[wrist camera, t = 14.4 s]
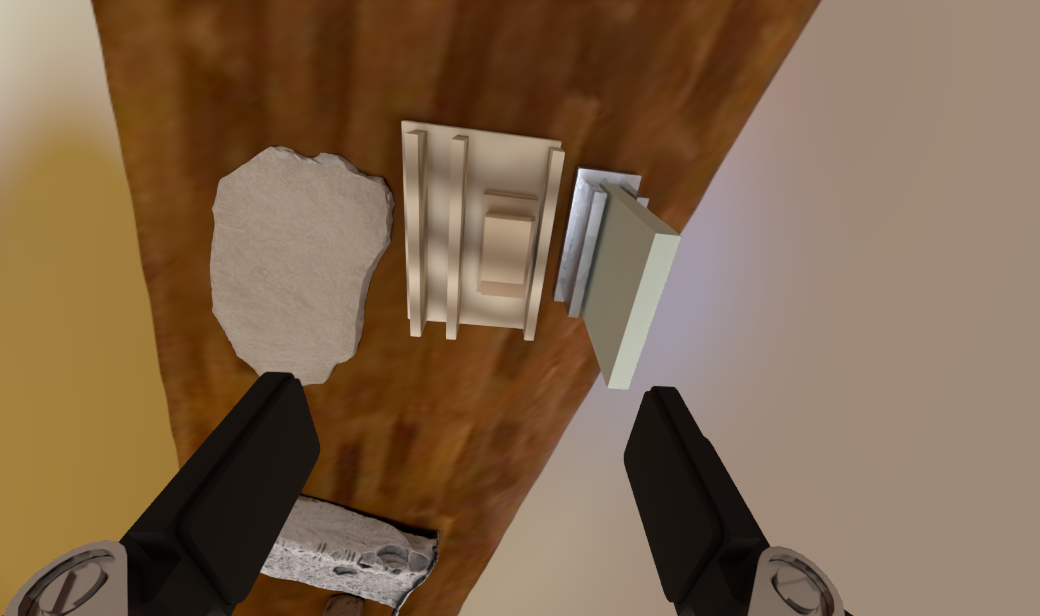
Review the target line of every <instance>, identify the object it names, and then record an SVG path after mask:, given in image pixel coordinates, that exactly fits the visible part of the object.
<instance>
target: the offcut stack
mask: <svg viewBox="0 0 1040 616" xmlns="http://www.w3.org/2000/svg"><path fill="white" fill-rule="evenodd" d="M537 204H538V199H537V197H534V196H526V195H517V194H509V193H500V192H492V191H484V196H483V210H482V224H481V238H480V252H479V266H478V280H477V292H481V295H490V296H501V297H511V298H522V299H525V292H526V285H527V278H528V271H529V264H530V257H531V250H532V243H533V237H534V230H535V223H536V220H535V218H536V211H537Z"/></svg>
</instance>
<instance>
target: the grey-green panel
mask: <svg viewBox="0 0 1040 616" xmlns="http://www.w3.org/2000/svg"><path fill="white" fill-rule="evenodd" d="M599 186H600V187H601V188H602V189H603V190H604V191H605V192H606V193H607V196H606V200H605V205H604V209H603V213H602V218H601V222H600V226H599V231H598V235H597V239H596V243H595V248H594V252H593V256H592V261H591V265H590V269H589V273H588V278H587V282H586V286H585V291H584V295H583V299H582V304H581V308H580V310H581V313H582V316H583V319H584V322H585V325H586V328H587V331H588V334H589V336H590V339H591V342H592V345H593V348H594V351H595V354H596V357H597V360H598V363H599V365H600V368H601V371H602V374H603V377H604V380H605V383H606V385H607V388H613V389H627V390H628V388H629V385H630V382H631V380H632V376H633V374H634V371H635V368H636V365H637V362H638V359H639V357H640V354H641V351H642V348H643V345H644V342H645V340H646V337H647V334H648V331H649V328H650V325H651V323H652V320H653V317H654V314H655V311H656V308H657V305H658V303H659V300H660V297H661V294H662V291H663V288H664V285H665V283H666V280H667V277H668V274H669V271H670V268H671V266H672V263H673V260H674V257H675V254H676V251H677V248H678V246H679V242H680V240H681V237H682V236H681V235H679V234H678V233H677V232H676V231H674V230H673V229H672V228H671V227H669V226H668V225H667V224H665V223H664V222H663V221H662V220H660V219H659V218H658V217H657V216H655V215H654V214H653V213H652V212H650V211H649V210H648V209H647V208H645V207H644V206H643V205H641V204H640V203H639V202H638V201H636V200H635V199H634V198H633V197H631V196H630V195H629V194H628V193H626V192H625V191H624V190H622V189H621V188H620V187H619V186H617V185H615V184H607V183H600V184H599Z"/></svg>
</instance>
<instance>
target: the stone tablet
mask: <svg viewBox="0 0 1040 616" xmlns="http://www.w3.org/2000/svg"><path fill="white" fill-rule="evenodd" d="M394 205H395V204H394V200H393V196H392V192H390V191H389V188H388V187H387V185H386V184H385V182H384V179H383V178H382V177H377V176H366V175H365V174H362V173H359V172H358V170H357V169H356V168H355V167H354V166H353V165H352V164H351V163H350V162H348V161H347V160H346V159H345V158H343V157H341V156H339V155H335V154H327V153H320V155H319V156H317V157H315V158H307V157H304V156H302V155H300V154H298V153H295V151H294V150H292V149H289V148H287V147H281V146H279V147H269V148H267V149H266V150H264V151H263V152H261V153H260V154H258V155H257V156H255V157H254V158H253V159H252V160H250V161H249V162H247V163H246V164H244V165H242V166H241V167H240V168H238V169H237V170H235V171H234V172H232V173H231V174H229V175H228V176H226V177H224V178H222V179H221V180H220V181H219V184H218V188H217V196H216V199H215V203H214V206H213V207H212V210H213V213H214V220H215V229H214V233H213V241H212V251H211V261H210V274H211V285H212V299H213V308H212V312H213V313H214V315H215V316H216V318H217V319H218V321H219V323H220V324H221V326H222V327H223V329H224V330H225V333H226V335H227V336H228V339H229V340H230V341H231V343H232V346H233V348H234V349H235V351H236V355H237V356H238V357H239V358H241V359H243V360H244V361H245V362H247V363H248V364H249V365H250V366H251V367H252V368H254V369H255V371H256V372H257V373H258V375H259V376H261V375H262V374H263V373H265V372H267V371H269V372H291V373H292V374H293V375H294V377H295V378H298V379H300V381H301V384H302V386H304V385H308V384H314V383H316V384H319V383H322V384H323V383H324V382H325V381H326V380H327V379H328V378H329V376H330V375H331V373H332V371H333V368H334V367H335V365H336V364H337V363H341V362H345V361H347V360H348V359H349V358H351V357H353V356H354V354H355V353H356V351H357V348H358V343H359V341H360V339H361V336H362V330H363V325H364V313H365V311H364V306H365V302H364V301H365V300H366V298H367V297H366V294H367V292H368V287H369V284H370V280H371V277H372V274H373V271H374V269H375V268H376V266H377V264H378V261H379V260H380V258H381V256H382V255H383V253H384V252H385V250H386V249H387V247H388V246H389V244H390V243H391V240H390V233H391V227H392V222H393V217H392V210H393V207H394Z"/></svg>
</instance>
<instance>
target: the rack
mask: <svg viewBox="0 0 1040 616" xmlns="http://www.w3.org/2000/svg"><path fill="white" fill-rule="evenodd" d="M401 122H402V152H403V182H404V211H405V241H406V271H407V301H408V319H410V329H411V336H418V337H421V334H422V332H423V329H424V326H425V323H426V321H427V320H428V321H440V322H447V323H446V339H454V340H456V336H457V332H458V327H459V323H463V324H475V325H487V326H498V327H510V328H521V329H523V330H524V340H532V341H533V340H534V334H535V328H536V322H537V316H538V310H539V304H540V298H541V292H542V286H543V280H544V274H545V268H546V263H547V257H548V251H549V245H550V239H551V233H552V227H553V221H554V215H555V209H556V203H557V197H558V191H559V185H560V180H561V174H562V168H563V162H564V156H565V152H564V151H563V150H562V149H561V141H560V140H553V139H545V138H538V137H530V136H522V135H515V134H507V133H499V132H492V131H484V130H477V129H469V128H461V127H454V126H446V125H439V124H431V123H423V122H416V121H408V120H404V121H401ZM484 191H492V192H500V193H509V194H517V195H526V196H534V197H537V199H538V204H537V211H536V218H535V220H536V223H535V230H534V237H533V243H532V250H531V257H530V264H529V271H528V278H527V285H526V292H525V299H522V298H511V297H501V296H490V295H481V292H477V280H478V266H479V252H480V238H481V224H482V210H483V196H484Z"/></svg>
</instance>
